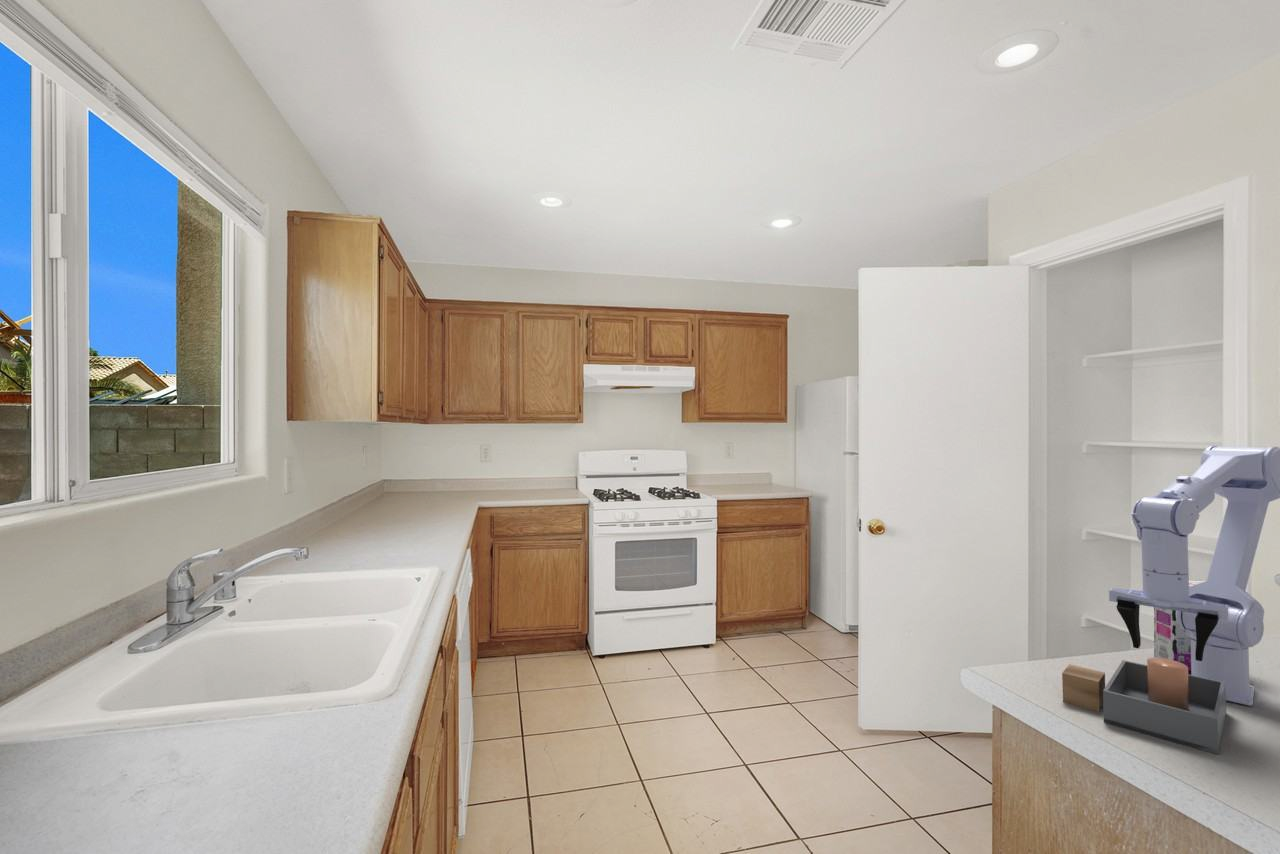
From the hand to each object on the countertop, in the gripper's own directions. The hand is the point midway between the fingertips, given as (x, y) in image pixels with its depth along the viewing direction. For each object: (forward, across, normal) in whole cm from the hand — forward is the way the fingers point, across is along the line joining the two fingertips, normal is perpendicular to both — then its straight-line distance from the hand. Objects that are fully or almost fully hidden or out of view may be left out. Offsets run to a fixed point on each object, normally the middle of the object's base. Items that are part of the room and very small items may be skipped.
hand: (1167, 652), depth 96 cm
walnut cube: (+10, -10, -6) cm, 15 cm away
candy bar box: (+10, +1, +24) cm, 26 cm away
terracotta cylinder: (+9, 0, 0) cm, 9 cm away
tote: (+9, 0, -4) cm, 10 cm away
